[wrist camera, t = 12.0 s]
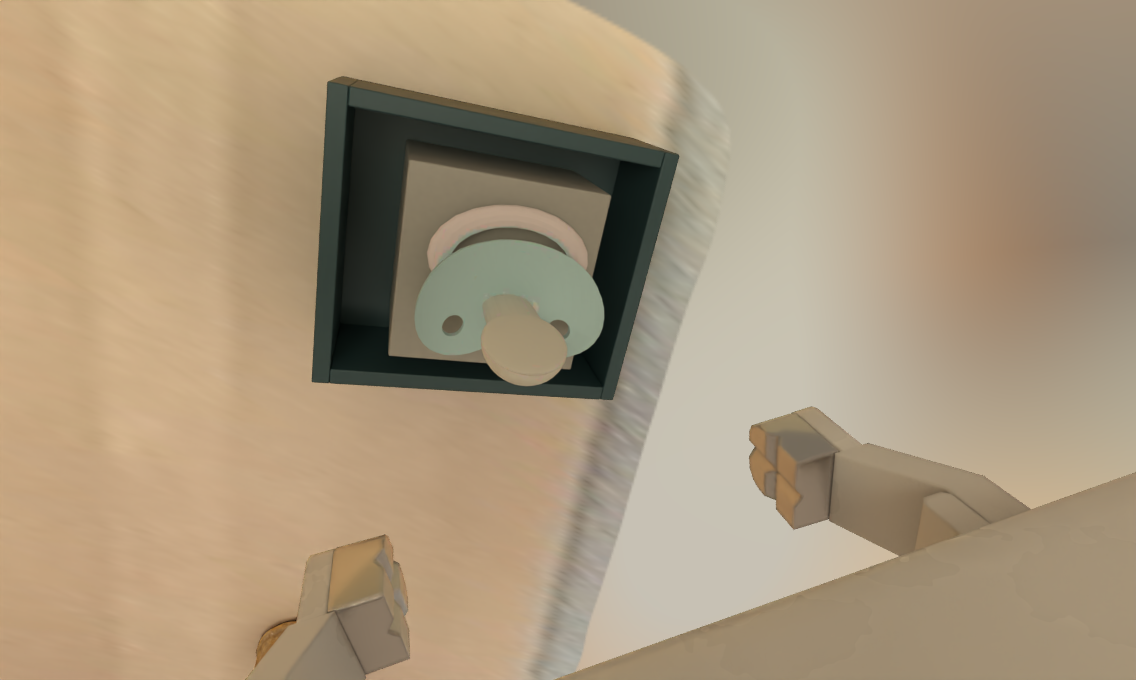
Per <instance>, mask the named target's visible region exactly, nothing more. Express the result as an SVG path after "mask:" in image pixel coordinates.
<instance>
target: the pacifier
mask: <svg viewBox="0 0 1136 680" xmlns="http://www.w3.org/2000/svg"><path fill="white" fill-rule="evenodd" d="M494 228H520V229H526V230H531V231H534V232H537V233H540V234H542V235H545V236H547V237H548V238H550V239H551V240H553V241H555V242H556V243H557V244H558V245H559V246H560V247H561V249H562V251H563V253H564V254H563V253H561V252H559V251H557V250H555V249H553V248H550V247H547V246H544V245H541V244H538V243H535V242H529V241H523V240H512V239H497V240H490V241H484V242H479V243H475V244H472V245H469V246H467V247H464V248H461V249H459V250H458V251H456V252H454V253H452V252H453V250H454V249H455V248H456V247H457V245H458V244H459V243H460V242H461V241H463V240H464V239H466V238H467V237H469V236H470V235H473V234H475V233H478V232H481V231H483V230H488V229H494ZM427 257H428V264H429V268H430V270H431V273H430V274H429V276H428V277H427V279H426V281H425V282H424V284H423V286H422V288H421V290H420V292H419V295H418V298H417V301H416V305H415V315H414V319H415V328H416V331H417V334H418V337H419V338H420V340H421V341H422V343H423V344H424V345H425V346H426V347H427V348H429V349H430V350H432V351H434V352H436V353H439V354H443V355H462V354H467V353H471V352H474V351H477V350H480V349H482V352H483V356H484V358H485V360H486V362H487V364H488V365H489V367H490V368H491V369H492V371H493V372H494V373H496V374H497V375H498V376H499V377H500V378H502V379H503V380H505V381H507V382H509V383H512V384H515V385H520V386H534V385H539V384H542V383H544V382H547V381H548V380H550V379H551V378H553V377H554V376H555V375H556V374H557V373H558V372H559V371H560V369H561V368H562V366H563V365H564V363H565V360H566V357H570V356H573V355H576V354H579V353H581V352H583V351H585V350H587V349H588V348H589V347H590V346H592V345H593V344H594V343H595V341H596V340H597V338H598V337H599V336H600V333H601V331H602V328H603V322H604V306H603V302H602V297H601V295H600V293H599V290H598V287H597V286H596V284H595V282H594V280H593V278H592V277H591V276H590V275H589V274H588V272H587V271H586V269H587V266H588V252H587V250H586V247H585V245H584V242H583V240H582V238H581V237H580V236H579V235H578V234H577V232H576V231H575V230H574V229H573V228H572V227H571V226H570V225H568V224H567V223H565V222H564V221H562V220H561V219H559V218H558V217H556V216H554V215H551V214H549V213H546V212H544V211H541V210H539V209H534V208H529V207H524V206H519V205H491V206H485V207H479V208H474V209H471V210H469V211H466V212H464V213H461V214H458V215H456V216H454V217H453V218H451V219H450V220H449V221H447V222H446V223H444V224H443V225H441V226H440V228H439V229H438V230H437V231H436V233H435V234H434V235H433V237H432V238H431V240H430V244H429V247H428V251H427ZM452 315H458V316H460V317H461V318H462V320H463V323H462V326H461V328H460V329H459V330H458V331H456V332H454V333H447V332H445V331H444V330H443V329H442V325H443V322H444V321H445V320H446V318H448V317H449V316H452ZM553 320H562V321H564V322H566V323H567V325H568V332H567V333H566V334H565V335H564V336H562V335H561V333H560V332H559V331H558V330H557V329H556V328H555V327H553V326H552V325H551V324H550V322H552V321H553Z"/></svg>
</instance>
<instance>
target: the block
mask: <svg viewBox="0 0 1136 680" xmlns="http://www.w3.org/2000/svg"><path fill="white" fill-rule="evenodd" d="M610 200H611V195H609V194H608V193H606V192H605V191H603V190H602V189H600V188H599V187H597V186H596V185H594V184H593V183H591V182H590V181H588V180H587V179H585V178H584V177H582V176H580V175H579V174H577V173H576V172H574V171H573V170H568V169H563V168H558V167H552V166H547V165H542V164H536V163H531V162H526V161H520V160H515V159H510V158H505V157H499V156H494V155H489V154H483V153H478V152H473V151H467V150H462V149H457V148H451V147H446V146H441V145H435V144H430V143H425V142H419V141H414V140H409V139H408V140H407V141H406V149H405V159H404V169H403V178H402V188H401V198H400V208H399V217H398V227H397V237H396V246H395V256H394V266H393V276H392V285H391V295H390V310H389V344H388V354H389V356H399V357H412V358H426V359H439V360H452V361H465V362H478V363H487V362H486V360H485V358H484V356H483V352H482V349H480V350H477V351H474V352H471V353H467V354H462V355H443V354H439V353H436V352H434V351H432V350H430V349H429V348H427V347H426V346H425V345H424V344H423V343H422V341H421V340H420V338H419V337H418V334H417V331H416V328H415V319H414V315H415V305H416V301H417V298H418V295H419V292H420V290H421V288H422V286H423V284H424V282H425V281H426V279H427V277H428V276H429V274H430V273H431V270H430V268H429V264H428V257H427V251H428V247H429V244H430V240H431V238H432V237H433V235H434V234H435V233H436V231H437V230H438V229H439V228H440V226H441V225H443V224H444V223H446V222H447V221H449V220H450V219H451V218H453V217H454V216H456V215H458V214H461V213H464V212H466V211H469V210H471V209H474V208H479V207H485V206H491V205H519V206H524V207H529V208H534V209H539V210H541V211H544V212H546V213H549V214H551V215H554V216H556V217H558V218H559V219H561V220H562V221H564V222H565V223H567V224H568V225H570V226H571V227H572V228H573V229H574V230H575V231H576V232H577V234H578V235H579V236H580V237H581V238H582V240H583V242H584V245H585V247H586V250H587V252H588V266H587V269H586V271H587V272H588V274H589V275H590V276H591V277H592V276H593V272H594V267H595V263H596V259H597V255H598V251H599V246H600V242H601V238H602V234H603V229H604V225H605V221H606V217H607V213H608V208H609V204H610ZM497 239H512V240H523V241H529V242H535V243H538V244H541V245H544V246H547V247H550V248H553V249H555V250H557V251H559V252H561V253H563V251H562V249H561V247H560V246H559V245H558V244H557V243H556V242H555V241H553V240H551V239H550V238H548V237H547V236H545V235H542V234H540V233H537V232H534V231H531V230H526V229H520V228H494V229H488V230H483V231H481V232H478V233H475V234H473V235H470V236H469V237H467V238H466V239H464V240H463V241H461V242H460V243H459V244H458V245H457V247H456V248H455V249H454V250H453V252H452V253H454V252H456V251H458V250H459V249H461V248H464V247H467V246H469V245H472V244H475V243H479V242H484V241H490V240H497ZM563 254H564V253H563ZM462 323H463V320H462V318H461V317H460V316H458V315H452V316H449V317H448V318H446V320H445V321H444V322H443V325H442V329H443V330H444V331H445V332H447V333H454V332H456V331H458V330H459V329H460V328H461V326H462ZM550 324H551V325H552V326H553V327H555V328H556V329H557V330H558V331H559V332H560V333H561V335H562V336H564V335H565V334H566V333H567V332H568V325H567V323H566V322H564V321H562V320H553V321H552V322H550ZM573 356H574V355H573ZM573 356H570V357H566V360H565V363H564V365H563V366H562V368H561V369H570V368H571V365H572V360H573Z"/></svg>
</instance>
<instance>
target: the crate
mask: <svg viewBox="0 0 1136 680" xmlns="http://www.w3.org/2000/svg"><path fill="white" fill-rule="evenodd" d="M408 139H409V140H414V141H419V142H425V143H430V144H435V145H441V146H446V147H451V148H457V149H462V150H467V151H473V152H478V153H483V154H489V155H494V156H499V157H505V158H510V159H515V160H520V161H526V162H531V163H536V164H542V165H547V166H552V167H558V168H563V169H568V170H573V171H574V172H576V173H577V174H579V175H580V176H582V177H584V178H585V179H587V180H588V181H590V182H591V183H593V184H594V185H596V186H597V187H599V188H600V189H602V190H603V191H605V192H606V193H608V194H609V195H611V200H610V204H609V208H608V213H607V217H606V221H605V225H604V229H603V234H602V238H601V242H600V246H599V251H598V255H597V259H596V263H595V267H594V272H593V276H592V278H593V280H594V282H595V284H596V286H597V287H598V290H599V293H600V295H601V297H602V302H603V306H604V322H603V328H602V331H601V333H600V336H599V337H598V338H597V340H596V341H595V343H594V344H593V345H592V346H590V347H589V348H588V349H587V350H585V351H583V352H581V353H579V354H576V355H574V356H573V360H572V365H571V368H570V369H560V371H559V372H558V373H557V374H556V375H555V376H554V377H553V378H551V379H550V380H548V381H547V382H544V383H542V384H539V385H534V386H520V385H515V384H512V383H509V382H507V381H505V380H503V379H502V378H500V377H499V376H498V375H497V374H496V373H494V372H493V371H492V369H491V368H490V367H489V365H488V364H487V363H478V362H465V361H452V360H439V359H426V358H412V357H399V356H389V354H388V344H389V310H390V295H391V285H392V276H393V266H394V256H395V246H396V237H397V227H398V217H399V208H400V198H401V188H402V178H403V169H404V159H405V149H406V141H407V140H408ZM678 159H679V155H678V154H676V153H673V152H670V151H667V150H664V149H662V148H659V147H656V146H653V145H650V144H647V143H645V142H642V141H639V140H636V139H633V138H630V137H625V136H620V135H615V134H611V133H606V132H601V131H597V130H592V129H587V128H583V127H578V126H573V125H569V124H564V123H559V122H555V121H550V120H545V119H540V118H536V117H531V116H526V115H522V114H517V113H512V112H508V111H503V110H498V109H494V108H489V107H484V106H480V105H475V104H470V103H465V102H461V101H456V100H451V99H447V98H442V97H437V96H433V95H428V94H423V93H419V92H414V91H409V90H405V89H400V88H395V87H390V86H386V85H381V84H376V83H372V82H367V81H362V80H358V79H353V78H348V77H344V76H342V77H339V78H336V79H333V80H331V81H328V83H327V101H326V120H325V139H324V158H323V177H322V196H321V215H320V234H319V253H318V272H317V291H316V310H315V329H314V348H313V367H312V382H318V383H329V382H330V383H334V384H351V385H368V386H384V387H401V388H417V389H434V390H451V391H467V392H484V393H501V394H517V395H534V396H550V397H567V398H584V399H603V400H613V397H614V394H615V390H616V386H617V383H618V379H619V375H620V372H621V368H622V364H623V361H624V357H625V353H626V350H627V346H628V342H629V339H630V335H631V331H632V328H633V324H634V320H635V317H636V313H637V309H638V306H639V302H640V298H641V295H642V291H643V287H644V284H645V280H646V276H647V273H648V269H649V265H650V262H651V258H652V254H653V251H654V247H655V243H656V240H657V236H658V232H659V229H660V225H661V221H662V218H663V214H664V210H665V207H666V203H667V199H668V196H669V192H670V188H671V185H672V181H673V177H674V174H675V170H676V166H677V163H678Z"/></svg>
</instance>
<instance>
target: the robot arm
mask: <svg viewBox="0 0 1136 680" xmlns="http://www.w3.org/2000/svg"><path fill="white" fill-rule="evenodd" d="M749 434H750V436H749V440H750V441H751V443H752V444H753V445H754V446H755V448H754V449H753V451H752V453H751V454H750V456H749V460H750V470H751V473H752V477H753V480H754V481H755V483H756V485H757V487H758V488H759V490H760V491H761V492H762V493H763V494H764V495H765V496H767V497H769V498H772V499H775V500H776V510H777V511H778V512H779V513H780V514H781V515H782V517H783V518H784V519H785V520H786V521H787V522H788V524H789V525H790V526H791V527H792V528H793V529H798V528H801V527H804V526H807V525H811V524H814V523H818V522H821V521H824V520H827V519H829V521H831V522H833V523H835V524H836V525H838V526H840V527H842V528H844V529H846V530H848V531H850V532H852V533H854V534H856V535H859V536H860V537H863V538H865V539H866V540H868V541H871V542H872V543H875V544H876V545H878V546H880V547H883V548H885V549H887V550H889V551H891V552H893V553H895V554H897V555H899V557H897V558H894V559H891V560H888V561H885V562H883V563H880V564H877V565H874V566H872V567H869V568H866V569H863V570H860V571H857V572H855V573H852V574H849V575H846V576H844V577H841V578H838V579H835V580H832V581H830V582H827V583H824V584H821V585H819V586H815V587H813V588H810V589H807V590H804V591H801V592H799V593H796V594H793V595H790V596H787V597H784V598H782V599H779V600H776V601H773V602H770V603H768V604H765V605H762V606H759V607H756V608H753V609H751V610H748V611H745V612H742V613H739V614H737V615H734V616H731V617H728V618H725V619H722V620H720V621H717V622H714V623H711V624H708V625H706V626H703V627H700V628H697V629H695V630H692V631H689V632H686V633H683V634H680V635H678V636H675V637H672V638H669V639H666V640H664V641H661V642H658V643H655V644H652V645H650V646H647V647H644V648H641V649H639V650H636V651H633V652H630V653H628V654H625V655H622V656H619V657H616V658H613V659H611V660H608V661H605V662H602V663H599V664H596V665H594V666H591V667H588V668H585V669H582V670H580V671H577V672H574V673H571V674H568V675H566V676H563V677H560V678H557V679H554V680H1136V472H1135V473H1132V474H1129V475H1127V476H1124V477H1121V478H1118V479H1115V480H1113V481H1110V482H1107V483H1104V484H1101V485H1098V486H1096V487H1093V488H1090V489H1087V490H1084V491H1082V492H1079V493H1076V494H1073V495H1070V496H1068V497H1065V498H1062V499H1059V500H1057V501H1054V502H1051V503H1049V504H1045V505H1042V506H1040V507H1037V508H1034V509H1030V508H1028V507H1027V506H1026V505H1024V504H1023V503H1021V502H1020V501H1019V500H1017V499H1016V498H1014V497H1013V496H1011V495H1010V494H1009V493H1007V492H1006V491H1004V490H1003V489H1002V488H1000V487H999V486H997V485H996V484H995V483H993V482H992V481H990V480H989V479H988V478H986V477H985V476H983V475H979V474H975V473H972V472H968V471H965V470H961V469H958V468H954V467H950V466H947V465H944V464H940V463H937V462H933V461H930V460H926V459H922V458H919V457H915V456H912V455H908V454H905V453H901V452H898V451H894V450H891V449H887V448H884V447H880V446H876V445H873V444H869V443H867V444H863V445H862V444H860V443H859V442H858V441H857V440H856V439H854V438H853V437H852V436H850V435H849V434H848V433H847V432H846V431H844V430H843V429H842V428H841V427H840V426H838V425H837V424H836V423H834V422H833V421H832V420H831V419H830V418H829V417H827V416H826V415H825V414H824V413H822V412H821V411H820V410H819V409H817V408H815V407H808V408H805V409H802V410H799V411H795V412H793V413H791V414H787V415H784V416H781V417H778V418H774V419H771V420H768V421H765V422H761V423H758V424H755V425H752V426H751V429H750V431H749ZM407 612H408V596H407V590H406V584H405V580H404V576H403V573H402V570H401V567H400V564H399V563H397V562H395V561H393V547H392V544H391V542H390V540H389V537H388V536H387V535H381V536H378V537H374V538H370V539H367V540H363V541H359V542H356V543H352V544H348V545H345V546H341V547H337V548H336V549H332V550H328V551H325V552H321V553H317V554H314V555H310V557H309V558H308V560H307V562H306V567H305V573H304V579H303V585H302V591H301V597H300V603H299V609H298V615H297V621H296V623H295V624H292V625H289V626H288V627H287V628H286V629H285V631H284V632H283V633H282V634H281V636H280V637H279V638H278V639H277V641H276V642H275V643H274V644H273V646H272V647H271V648H270V649H269V651H268V652H267V653H266V654H265V656H264V657H263V658H262V659H261V661H260V662H259V663H258V664H257V666H256V667H255V668H254V669H253V670H252V672H251V673H250V674H249V675H248V677H247V678H246V679H245V680H365V679H366V674H369V673H372V672H374V671H377V670H380V669H383V668H385V667H388V666H391V665H394V664H396V663H399V662H402V661H405V660H407V659H410V644H409V628H408V625H407V623H406V620H405V617H404V616H405V615H406V613H407Z"/></svg>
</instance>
